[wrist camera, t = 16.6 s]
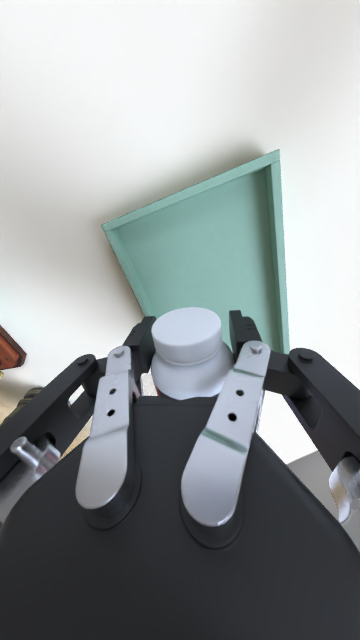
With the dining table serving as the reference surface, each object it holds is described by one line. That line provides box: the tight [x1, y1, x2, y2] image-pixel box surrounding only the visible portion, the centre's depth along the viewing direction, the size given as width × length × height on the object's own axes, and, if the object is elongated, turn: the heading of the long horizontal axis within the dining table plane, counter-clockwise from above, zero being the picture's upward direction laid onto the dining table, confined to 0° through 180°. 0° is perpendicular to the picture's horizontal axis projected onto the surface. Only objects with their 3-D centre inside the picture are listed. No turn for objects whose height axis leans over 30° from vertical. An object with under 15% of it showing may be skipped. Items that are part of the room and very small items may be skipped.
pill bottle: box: [151, 307, 235, 401], centre depth 13 cm, size 5×5×10 cm
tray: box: [101, 149, 290, 354], centre depth 19 cm, size 21×14×2 cm
